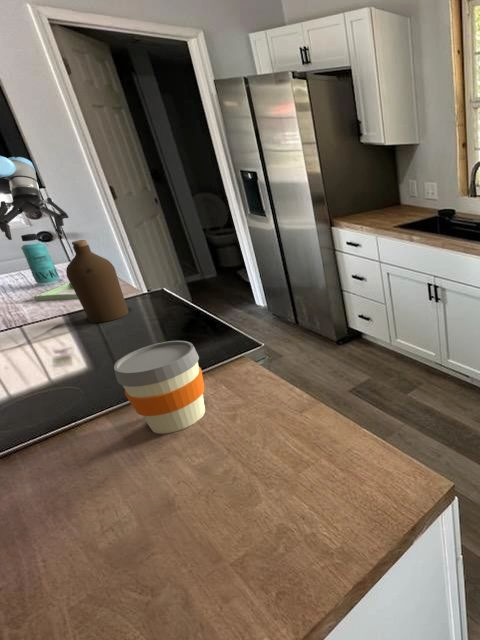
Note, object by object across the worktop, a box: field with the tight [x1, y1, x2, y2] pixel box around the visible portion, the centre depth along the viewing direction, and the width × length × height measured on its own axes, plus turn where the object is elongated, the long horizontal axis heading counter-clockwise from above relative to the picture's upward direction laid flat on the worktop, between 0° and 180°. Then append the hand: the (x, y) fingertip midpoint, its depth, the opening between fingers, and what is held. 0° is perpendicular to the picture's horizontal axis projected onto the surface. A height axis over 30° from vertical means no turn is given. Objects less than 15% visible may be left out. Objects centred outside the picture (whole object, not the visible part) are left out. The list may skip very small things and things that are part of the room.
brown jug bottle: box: [65, 239, 129, 324], centre depth 127 cm, size 11×11×25 cm
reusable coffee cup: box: [113, 340, 206, 435], centre depth 82 cm, size 13×13×15 cm
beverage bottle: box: [20, 233, 60, 285], centre depth 156 cm, size 6×7×20 cm
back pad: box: [33, 281, 79, 302], centre depth 150 cm, size 14×14×2 cm
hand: (34, 235), depth 160 cm, fingers open, 13 cm apart
